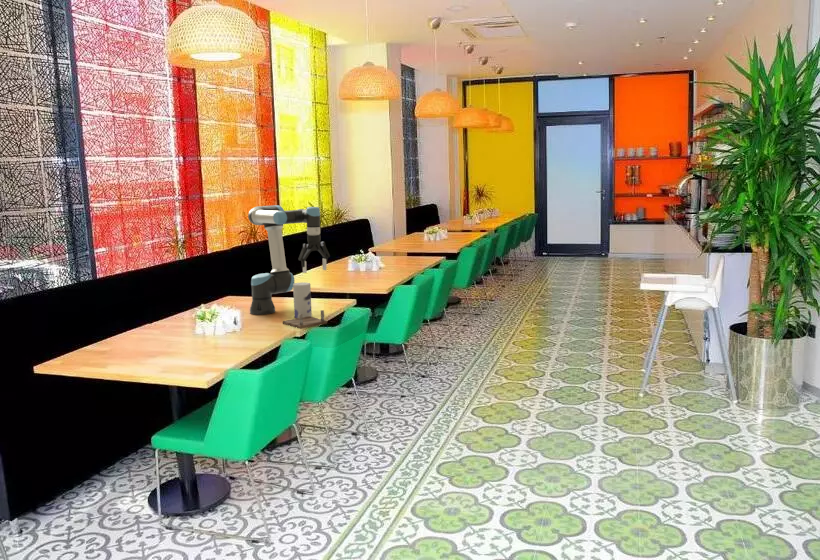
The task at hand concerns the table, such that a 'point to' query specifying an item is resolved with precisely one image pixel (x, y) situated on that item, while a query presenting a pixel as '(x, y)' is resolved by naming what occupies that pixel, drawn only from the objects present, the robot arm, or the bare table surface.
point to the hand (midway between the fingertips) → (314, 271)
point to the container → (302, 299)
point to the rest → (306, 321)
